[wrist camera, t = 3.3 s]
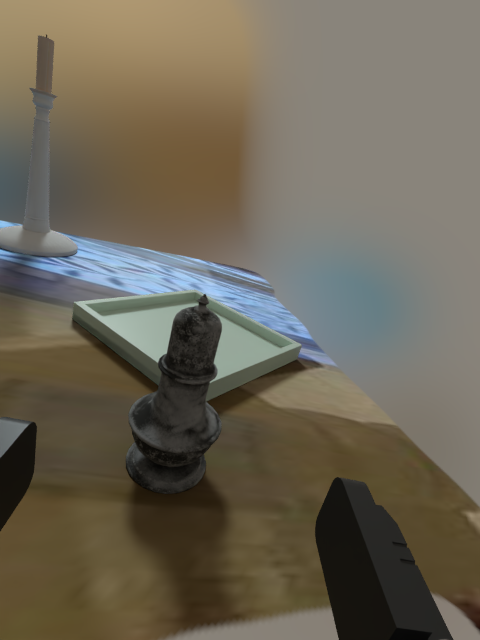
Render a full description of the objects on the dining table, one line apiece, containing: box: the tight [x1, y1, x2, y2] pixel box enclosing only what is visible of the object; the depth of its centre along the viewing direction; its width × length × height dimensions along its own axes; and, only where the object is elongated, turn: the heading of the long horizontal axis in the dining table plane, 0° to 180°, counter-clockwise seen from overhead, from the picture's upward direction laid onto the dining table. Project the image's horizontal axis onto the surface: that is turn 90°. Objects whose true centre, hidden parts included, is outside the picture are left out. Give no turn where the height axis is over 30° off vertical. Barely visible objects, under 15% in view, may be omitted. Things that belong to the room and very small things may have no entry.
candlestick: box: [0, 35, 78, 257], centre depth 55 cm, size 13×13×30 cm
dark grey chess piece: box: [126, 294, 222, 494], centre depth 22 cm, size 6×6×12 cm
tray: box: [72, 290, 302, 401], centre depth 42 cm, size 19×19×2 cm
